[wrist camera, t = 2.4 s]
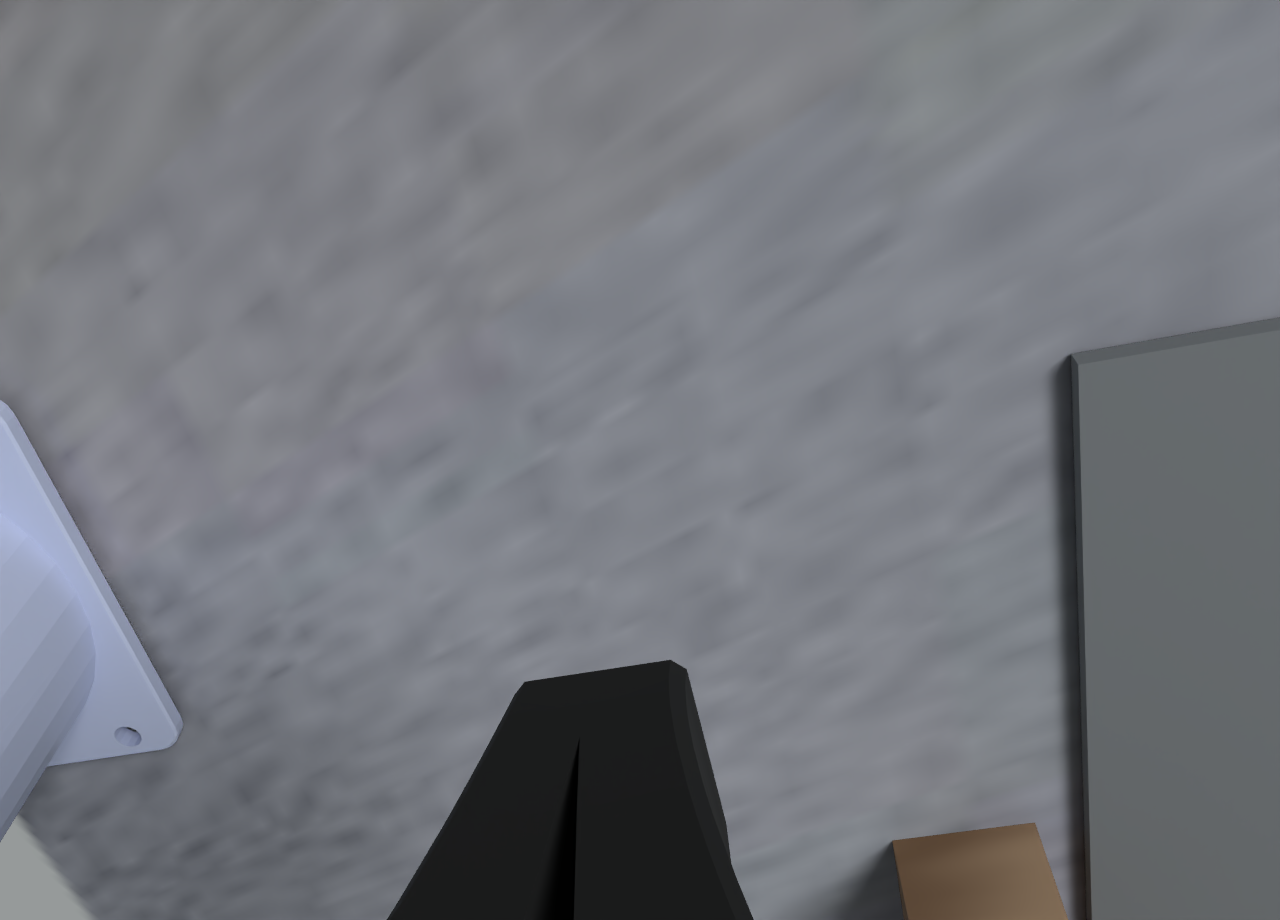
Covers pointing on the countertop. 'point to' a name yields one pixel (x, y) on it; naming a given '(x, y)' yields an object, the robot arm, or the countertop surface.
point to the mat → (1180, 623)
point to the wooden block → (977, 876)
